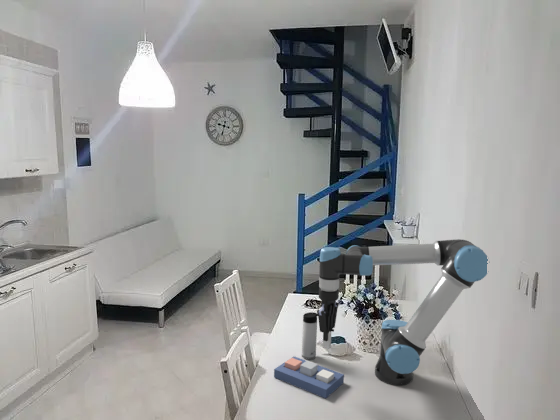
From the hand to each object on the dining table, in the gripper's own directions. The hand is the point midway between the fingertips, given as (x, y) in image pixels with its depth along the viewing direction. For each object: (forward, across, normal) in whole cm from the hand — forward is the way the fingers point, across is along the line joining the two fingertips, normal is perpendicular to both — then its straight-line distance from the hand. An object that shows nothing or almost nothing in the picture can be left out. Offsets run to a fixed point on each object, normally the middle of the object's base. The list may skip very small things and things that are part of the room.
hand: (326, 347), depth 165 cm
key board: (+16, 0, -8) cm, 18 cm away
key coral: (+14, 0, -15) cm, 21 cm away
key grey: (+13, 0, -8) cm, 15 cm away
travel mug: (+16, -17, -18) cm, 30 cm away
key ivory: (+14, 0, 0) cm, 14 cm away
